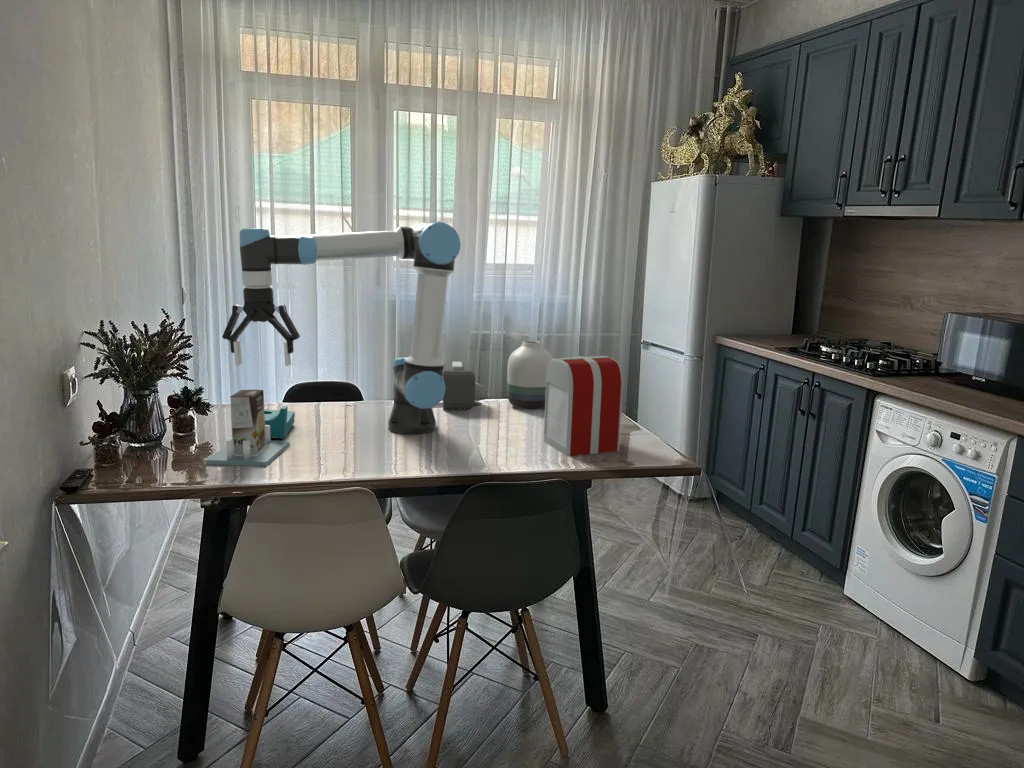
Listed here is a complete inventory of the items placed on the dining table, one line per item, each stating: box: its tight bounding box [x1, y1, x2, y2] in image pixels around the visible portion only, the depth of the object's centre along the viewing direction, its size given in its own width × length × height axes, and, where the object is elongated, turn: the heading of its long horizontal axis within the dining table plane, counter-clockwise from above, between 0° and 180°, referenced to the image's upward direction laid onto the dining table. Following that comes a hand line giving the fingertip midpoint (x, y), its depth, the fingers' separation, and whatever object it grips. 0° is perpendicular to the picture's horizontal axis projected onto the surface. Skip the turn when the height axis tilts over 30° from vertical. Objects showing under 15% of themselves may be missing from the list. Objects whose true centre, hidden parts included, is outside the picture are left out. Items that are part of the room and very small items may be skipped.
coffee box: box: [229, 389, 266, 454], centre depth 192 cm, size 9×6×16 cm
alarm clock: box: [442, 361, 476, 410], centre depth 254 cm, size 16×11×16 cm
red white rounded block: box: [543, 355, 624, 457], centre depth 207 cm, size 16×18×27 cm
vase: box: [506, 340, 554, 410], centre depth 255 cm, size 17×17×24 cm
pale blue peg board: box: [205, 425, 291, 467], centre depth 193 cm, size 16×19×6 cm
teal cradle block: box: [264, 405, 296, 439], centre depth 214 cm, size 18×11×10 cm, turn 8°
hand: (263, 364), depth 192 cm, fingers open, 13 cm apart
